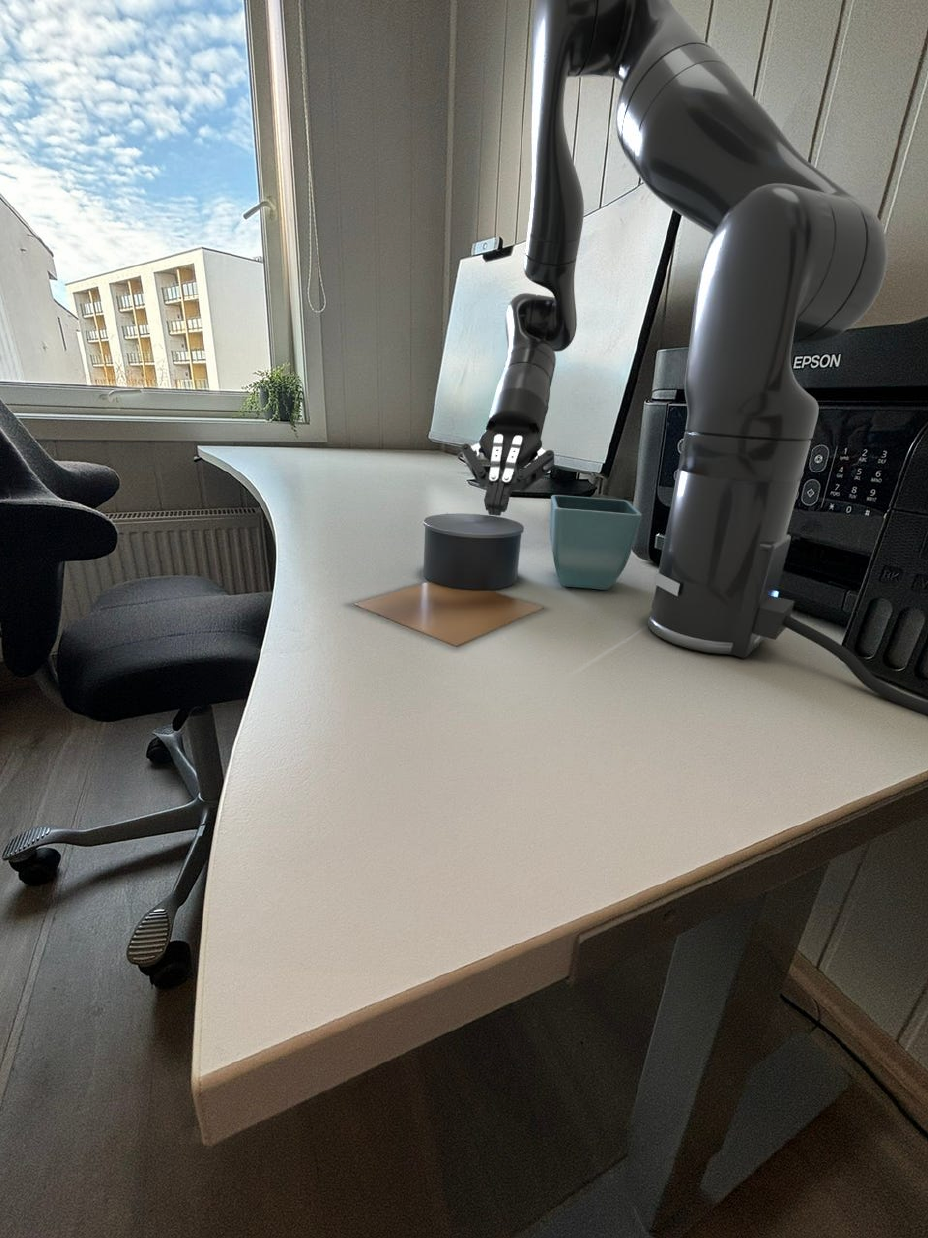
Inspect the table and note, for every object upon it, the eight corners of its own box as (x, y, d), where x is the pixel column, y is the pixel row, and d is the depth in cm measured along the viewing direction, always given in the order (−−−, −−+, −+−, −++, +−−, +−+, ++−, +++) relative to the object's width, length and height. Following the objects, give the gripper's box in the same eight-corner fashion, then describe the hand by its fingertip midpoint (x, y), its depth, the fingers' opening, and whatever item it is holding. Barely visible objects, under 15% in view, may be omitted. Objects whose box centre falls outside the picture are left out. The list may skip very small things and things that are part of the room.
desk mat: (543, 609, 55) (543, 607, 55) (456, 647, 46) (456, 645, 46) (445, 577, 63) (445, 576, 63) (353, 605, 54) (353, 603, 54)
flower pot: (616, 574, 68) (628, 499, 64) (629, 599, 59) (643, 514, 56) (542, 568, 68) (550, 493, 65) (545, 592, 60) (554, 508, 57)
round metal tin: (537, 578, 65) (543, 526, 63) (477, 598, 57) (481, 539, 55) (464, 557, 71) (467, 510, 69) (401, 573, 63) (402, 519, 61)
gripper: (469, 383, 76) (438, 488, 69) (568, 388, 73) (545, 498, 66) (476, 423, 82) (449, 523, 76) (567, 429, 79) (546, 533, 73)
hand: (493, 511), depth 71 cm, fingers closed
